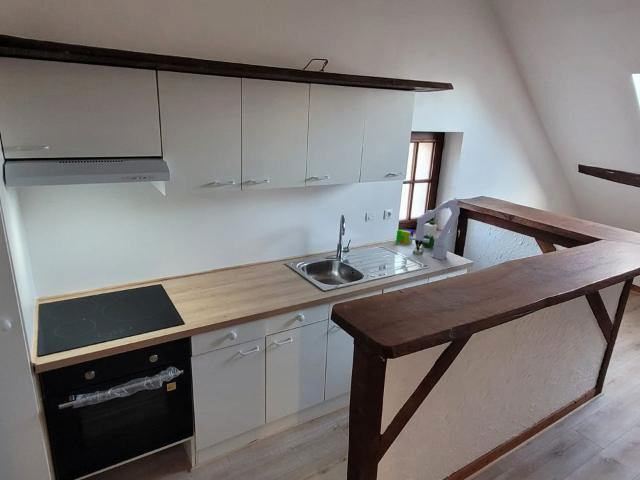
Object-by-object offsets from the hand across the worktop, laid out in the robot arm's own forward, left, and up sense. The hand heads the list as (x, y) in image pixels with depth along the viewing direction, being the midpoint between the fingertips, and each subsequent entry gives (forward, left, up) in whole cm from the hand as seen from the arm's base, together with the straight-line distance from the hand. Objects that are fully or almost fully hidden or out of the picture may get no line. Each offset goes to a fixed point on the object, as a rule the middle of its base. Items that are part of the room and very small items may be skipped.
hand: (417, 250), depth 305 cm
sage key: (0, 0, -1) cm, 1 cm away
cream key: (+2, -5, 0) cm, 5 cm away
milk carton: (+2, -22, -3) cm, 22 cm away
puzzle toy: (+21, -19, -3) cm, 28 cm away
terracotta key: (+3, -10, 0) cm, 10 cm away
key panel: (+2, -5, -2) cm, 6 cm away
